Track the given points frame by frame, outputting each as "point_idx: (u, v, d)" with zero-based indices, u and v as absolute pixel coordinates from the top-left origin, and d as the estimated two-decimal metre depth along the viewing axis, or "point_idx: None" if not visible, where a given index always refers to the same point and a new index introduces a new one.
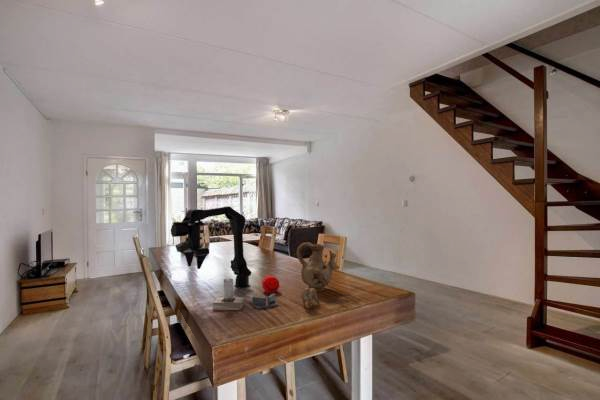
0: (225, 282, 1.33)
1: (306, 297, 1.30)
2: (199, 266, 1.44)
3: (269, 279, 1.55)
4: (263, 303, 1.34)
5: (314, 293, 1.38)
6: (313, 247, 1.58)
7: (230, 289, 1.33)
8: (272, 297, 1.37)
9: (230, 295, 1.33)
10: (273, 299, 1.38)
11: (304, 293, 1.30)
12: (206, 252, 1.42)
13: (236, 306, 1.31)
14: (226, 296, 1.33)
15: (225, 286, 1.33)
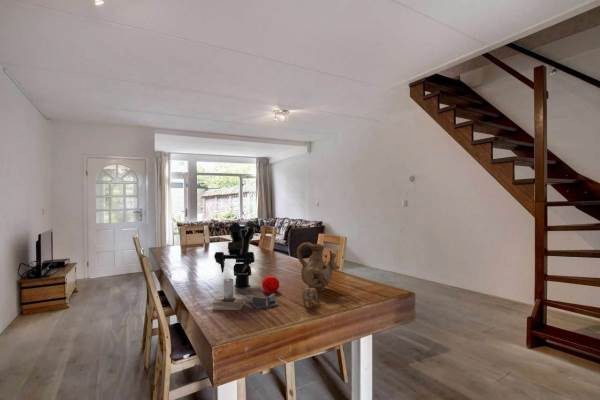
0: (225, 282, 1.33)
1: (307, 297, 1.30)
2: (243, 270, 1.43)
3: (269, 279, 1.55)
4: (263, 303, 1.34)
5: (314, 293, 1.39)
6: (313, 247, 1.58)
7: (230, 289, 1.33)
8: (272, 297, 1.37)
9: (230, 295, 1.33)
10: (273, 299, 1.38)
11: (305, 293, 1.30)
12: (254, 259, 1.49)
13: (236, 306, 1.31)
14: (226, 296, 1.33)
15: (225, 286, 1.33)
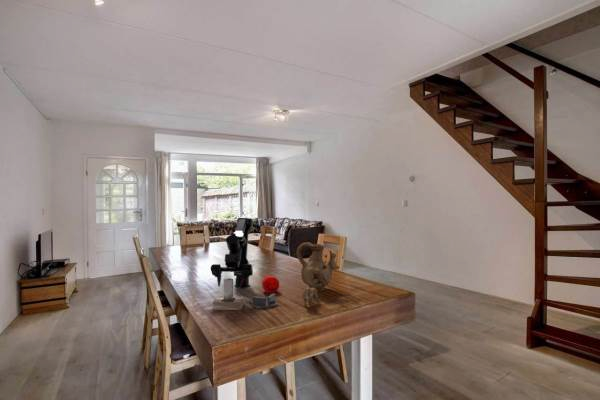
0: (225, 282, 1.33)
1: (307, 297, 1.31)
2: (241, 283, 1.37)
3: (269, 279, 1.55)
4: (263, 303, 1.34)
5: (315, 293, 1.39)
6: (313, 247, 1.58)
7: (230, 289, 1.33)
8: (272, 297, 1.37)
9: (230, 295, 1.33)
10: (273, 299, 1.38)
11: (305, 293, 1.31)
12: (252, 272, 1.42)
13: (236, 306, 1.31)
14: (226, 296, 1.33)
15: (225, 286, 1.33)
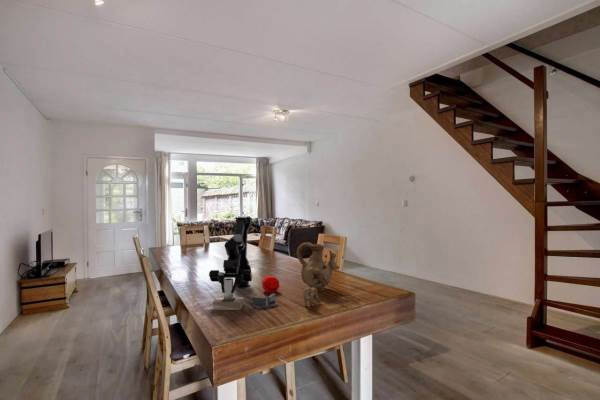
0: (225, 282, 1.33)
1: (308, 296, 1.31)
2: (234, 290, 1.34)
3: (269, 279, 1.55)
4: (263, 303, 1.34)
5: (315, 292, 1.39)
6: (313, 247, 1.58)
7: (230, 289, 1.33)
8: (272, 297, 1.37)
9: (230, 295, 1.33)
10: (273, 299, 1.38)
11: (306, 292, 1.31)
12: (251, 277, 1.40)
13: (236, 306, 1.31)
14: (226, 296, 1.33)
15: (225, 286, 1.33)
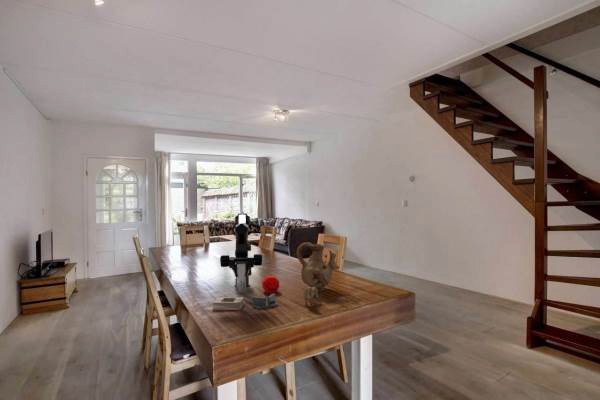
0: (239, 266, 1.33)
1: (309, 296, 1.32)
2: (247, 274, 1.35)
3: (269, 279, 1.55)
4: (263, 303, 1.34)
5: (315, 292, 1.40)
6: (313, 247, 1.58)
7: (244, 272, 1.34)
8: (272, 297, 1.37)
9: (244, 279, 1.34)
10: (273, 299, 1.38)
11: (307, 292, 1.32)
12: None
13: (236, 306, 1.31)
14: (240, 280, 1.33)
15: (239, 270, 1.33)
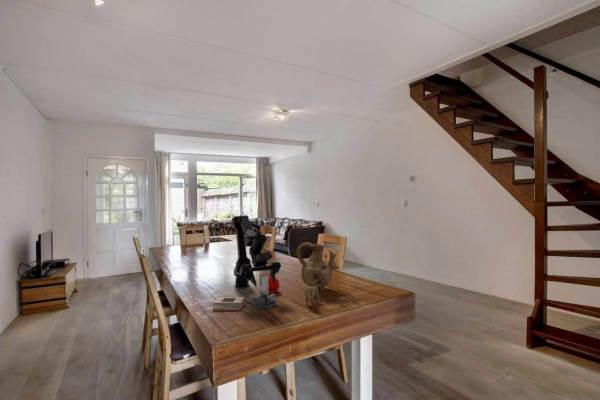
0: (263, 278, 1.35)
1: (309, 295, 1.32)
2: None
3: (269, 279, 1.55)
4: (263, 303, 1.34)
5: (316, 291, 1.41)
6: (313, 247, 1.58)
7: (267, 284, 1.37)
8: (272, 297, 1.37)
9: (267, 290, 1.37)
10: (273, 299, 1.38)
11: (308, 292, 1.32)
12: None
13: (236, 306, 1.31)
14: (264, 292, 1.36)
15: (263, 282, 1.36)
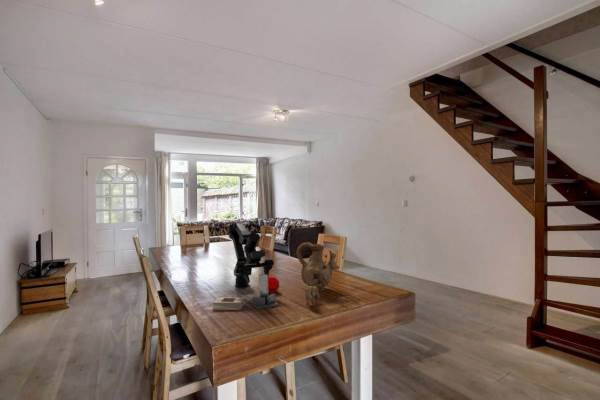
0: (262, 278, 1.36)
1: (310, 295, 1.33)
2: None
3: (269, 279, 1.55)
4: (263, 303, 1.34)
5: (316, 291, 1.41)
6: (313, 247, 1.58)
7: (267, 283, 1.37)
8: (272, 297, 1.37)
9: (267, 290, 1.37)
10: (273, 299, 1.38)
11: (308, 291, 1.33)
12: None
13: (236, 306, 1.31)
14: (264, 291, 1.36)
15: (262, 282, 1.36)
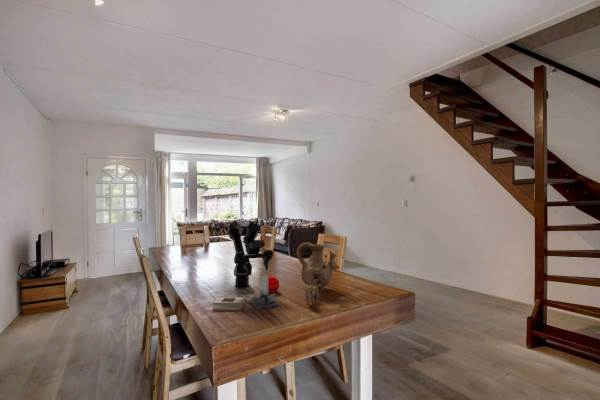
0: (263, 278, 1.36)
1: (310, 294, 1.34)
2: None
3: (269, 279, 1.55)
4: (263, 303, 1.34)
5: (316, 291, 1.42)
6: (313, 247, 1.58)
7: (267, 284, 1.37)
8: (272, 297, 1.37)
9: (267, 290, 1.37)
10: (273, 299, 1.38)
11: (308, 291, 1.34)
12: None
13: (236, 306, 1.31)
14: (264, 292, 1.36)
15: (263, 282, 1.36)
